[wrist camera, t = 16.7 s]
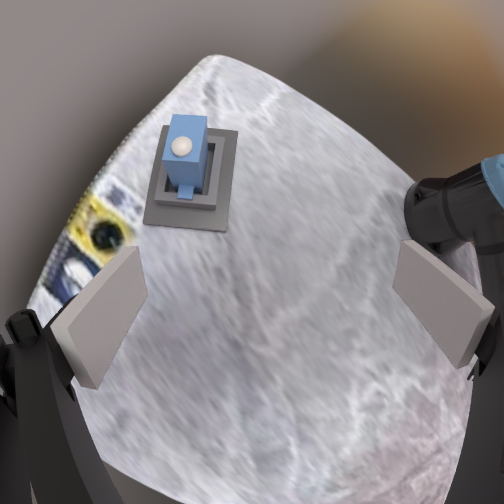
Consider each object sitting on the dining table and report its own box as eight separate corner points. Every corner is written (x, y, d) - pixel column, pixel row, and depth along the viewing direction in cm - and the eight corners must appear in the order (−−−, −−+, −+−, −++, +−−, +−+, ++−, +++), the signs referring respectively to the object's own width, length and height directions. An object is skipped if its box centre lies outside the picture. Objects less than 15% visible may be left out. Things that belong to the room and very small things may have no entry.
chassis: (164, 128, 40) (160, 117, 36) (237, 134, 41) (239, 122, 38) (144, 224, 38) (138, 218, 35) (226, 232, 40) (227, 227, 36)
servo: (183, 143, 39) (175, 98, 27) (209, 146, 40) (209, 100, 28) (173, 203, 38) (157, 172, 26) (200, 206, 38) (195, 175, 27)
